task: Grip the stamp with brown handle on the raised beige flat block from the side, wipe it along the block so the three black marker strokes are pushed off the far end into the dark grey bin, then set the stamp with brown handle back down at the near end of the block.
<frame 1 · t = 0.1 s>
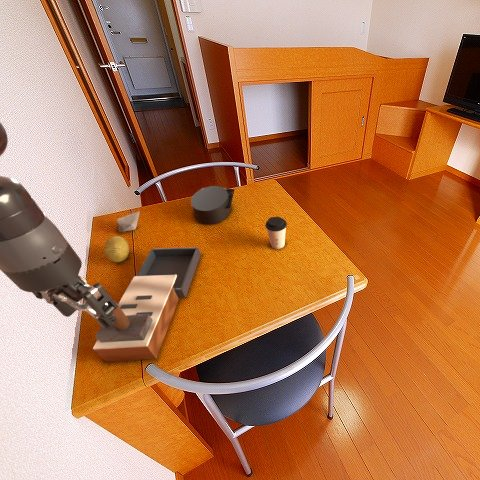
hand: (91, 318, 49), 19 cm above the table, tool pointing down, fingers open, 8 cm apart
marker stroke 1: (144, 314, 65), point 6 cm above the table, touching beige flat block
dark grey round pot: (215, 211, 108), on the table
beige flat block: (148, 321, 70), on the table
marker stroke 2: (129, 306, 67), point 6 cm above the table, touching beige flat block
marker stroke 3: (144, 297, 69), point 6 cm above the table, touching beige flat block
sculpture: (123, 258, 87), on the table
stamp with brown handle: (127, 331, 62), point 6 cm above the table, touching beige flat block
paper boat: (133, 227, 99), on the table
coffee cup: (277, 244, 95), on the table
bin: (169, 275, 82), on the table
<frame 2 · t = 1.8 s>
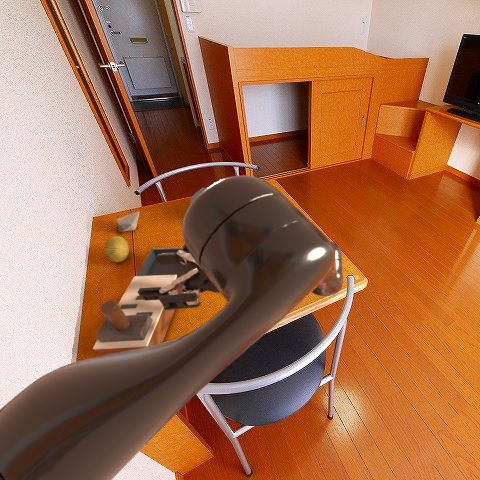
hand: (149, 275, 51), 24 cm above the table, tool horizontal, fingers open, 8 cm apart
nothing on the table moved.
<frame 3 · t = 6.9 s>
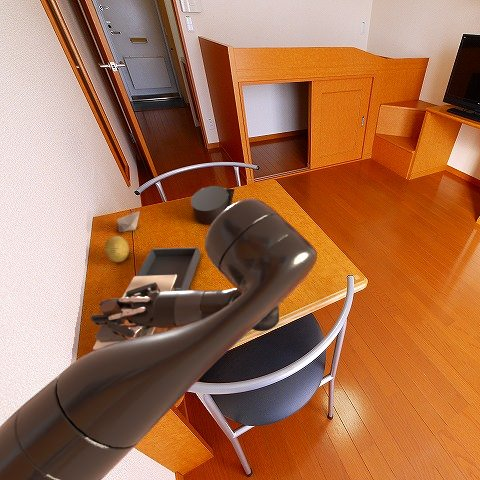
hand: (97, 312, 57), 13 cm above the table, tool horizontal, fingers closed on stamp with brown handle, 3 cm apart
stamp with brown handle: (127, 331, 62), point 6 cm above the table, touching gripper, beige flat block
everything else where it was.
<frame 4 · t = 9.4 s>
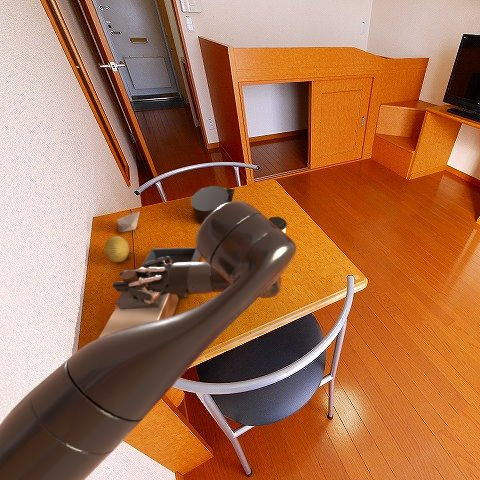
hand: (118, 280, 63), 13 cm above the table, tool horizontal, fingers closed on stamp with brown handle, 3 cm apart
marker stroke 1: (156, 290, 71), point 6 cm above the table, touching stamp with brown handle
marker stroke 2: (137, 291, 70), point 6 cm above the table, touching marker stroke 3, beige flat block
marker stroke 3: (149, 287, 71), point 6 cm above the table, touching marker stroke 2, beige flat block
stamp with brown handle: (143, 300, 68), point 6 cm above the table, touching gripper, marker stroke 1
everything else where it was.
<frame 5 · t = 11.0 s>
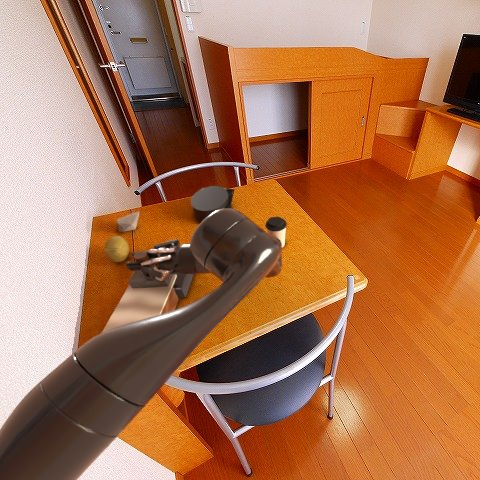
hand: (131, 260, 68), 13 cm above the table, tool horizontal, fingers closed on stamp with brown handle, 3 cm apart
marker stroke 1: (169, 284, 78), point 2 cm above the table, tilted 151°, touching bin, marker stroke 3
marker stroke 2: (152, 286, 78), point 1 cm above the table, tilted 90°, touching bin
marker stroke 3: (163, 285, 78), point 1 cm above the table, tilted 90°, touching bin, marker stroke 1
stamp with brown handle: (153, 280, 73), point 6 cm above the table, touching gripper
everything else where it was.
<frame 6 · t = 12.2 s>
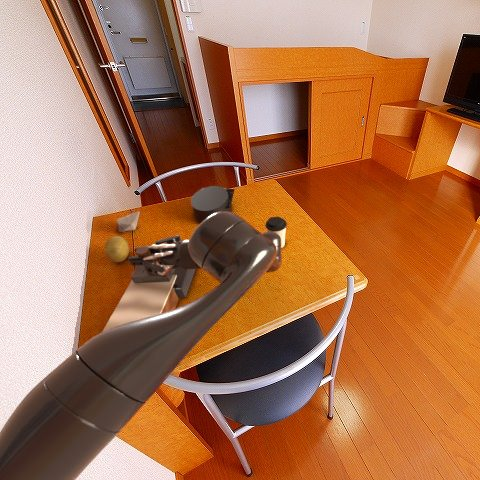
hand: (133, 256, 69), 13 cm above the table, tool horizontal, fingers closed on stamp with brown handle, 3 cm apart
stamp with brown handle: (155, 275, 74), point 6 cm above the table, touching gripper
everything else where it was.
when the fingers open (13 cm above the table, at t = 17.7 s): stamp with brown handle stays where it is, resting on beige flat block.
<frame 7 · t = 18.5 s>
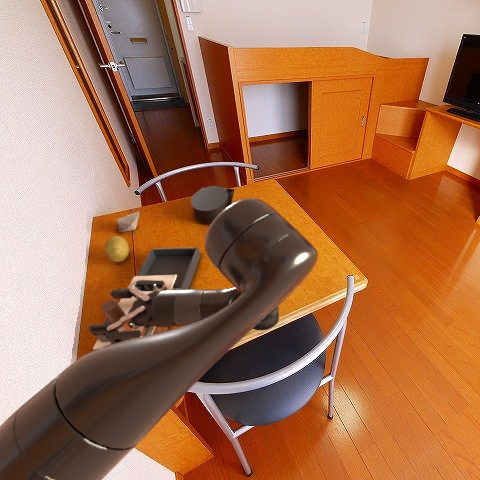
hand: (101, 311, 56), 14 cm above the table, tool horizontal, fingers open, 8 cm apart
stamp with brown handle: (128, 330, 62), point 6 cm above the table, touching beige flat block
everything else where it was.
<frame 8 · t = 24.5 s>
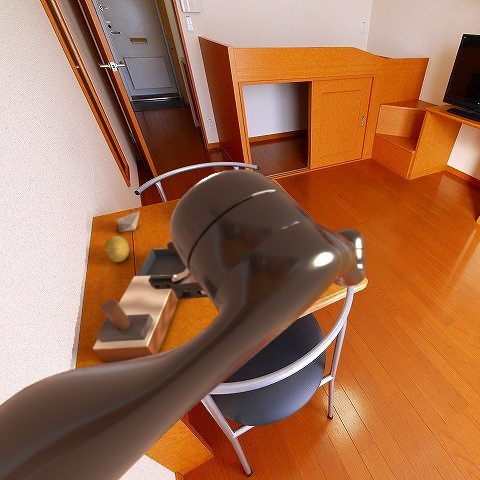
hand: (160, 263, 48), 28 cm above the table, tool horizontal, fingers open, 8 cm apart
nothing on the table moved.
at the end: marker stroke 1 inside the target area in the bin (5.4 cm from its centre), point 1.5 cm above the bin's base; marker stroke 2 inside the target area in the bin (5.7 cm from its centre), point 0.9 cm above the bin's base; marker stroke 3 inside the target area in the bin (4.5 cm from its centre), point 0.9 cm above the bin's base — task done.
